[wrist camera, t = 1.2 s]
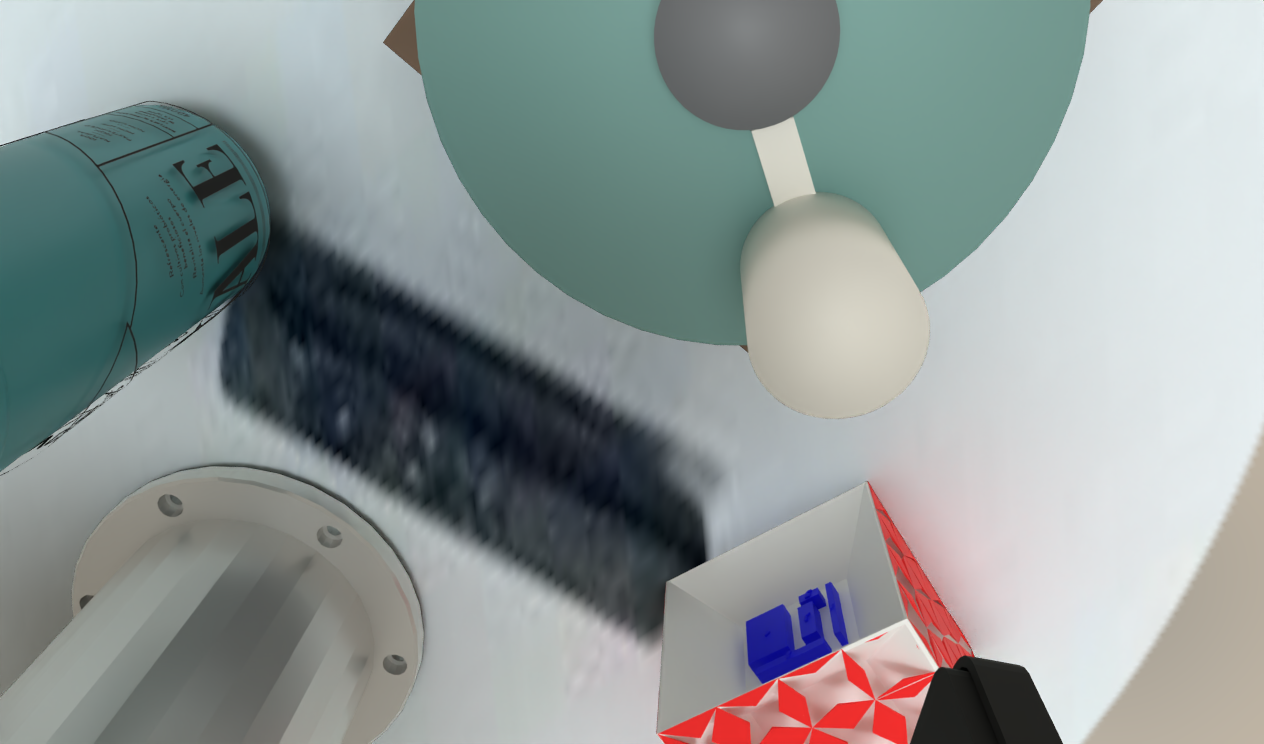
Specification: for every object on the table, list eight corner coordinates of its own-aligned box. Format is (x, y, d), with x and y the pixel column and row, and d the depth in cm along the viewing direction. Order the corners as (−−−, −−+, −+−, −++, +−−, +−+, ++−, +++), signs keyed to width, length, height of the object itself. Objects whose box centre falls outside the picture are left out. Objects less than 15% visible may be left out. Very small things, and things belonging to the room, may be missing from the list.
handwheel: (757, 432, 29) (770, 559, 23) (309, 59, 26) (192, 96, 20) (1209, -8, 25) (1370, 11, 19) (722, -525, 22) (728, -701, 16)
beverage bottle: (51, 161, 34) (-752, 437, 15) (211, 45, 32) (-471, 197, 13) (186, 330, 35) (-381, 761, 17) (344, 229, 34) (-95, 585, 15)
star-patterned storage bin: (776, 736, 40) (791, 914, 33) (665, 580, 38) (656, 734, 31) (974, 648, 38) (1037, 817, 31) (869, 478, 36) (910, 617, 29)
